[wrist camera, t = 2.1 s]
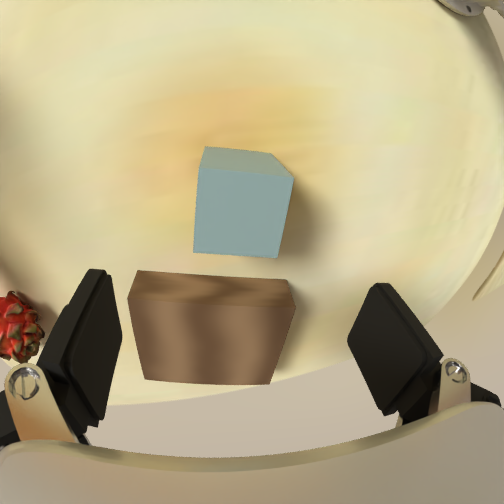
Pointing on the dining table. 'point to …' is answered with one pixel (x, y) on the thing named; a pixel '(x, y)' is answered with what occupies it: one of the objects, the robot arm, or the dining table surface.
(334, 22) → the dining table surface
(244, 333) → the plinth
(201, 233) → the block
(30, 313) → the dragon fruit
